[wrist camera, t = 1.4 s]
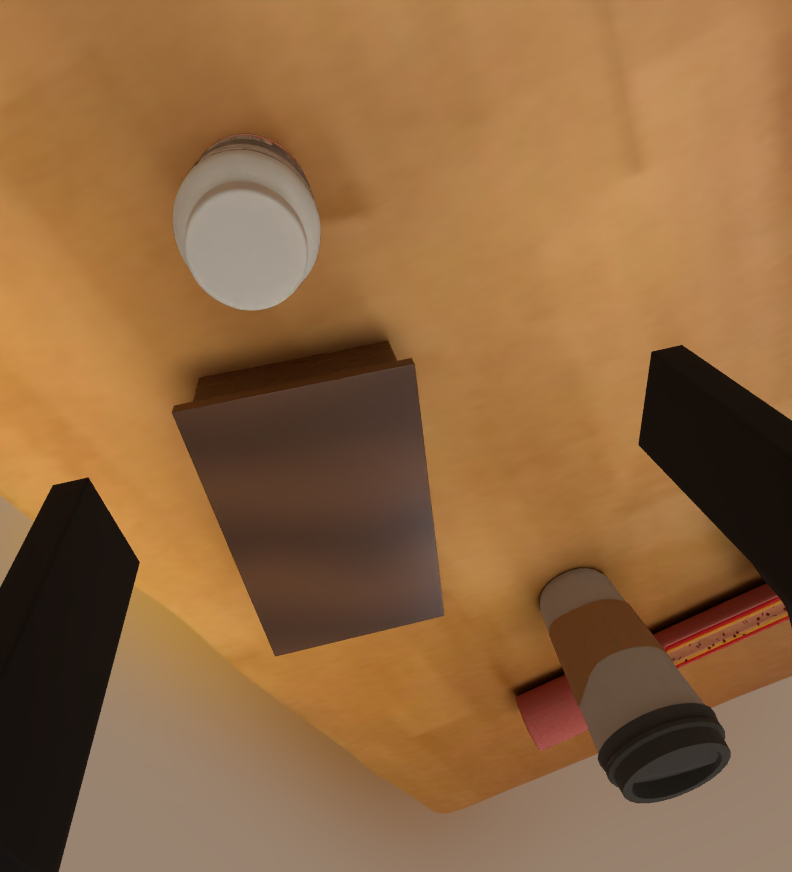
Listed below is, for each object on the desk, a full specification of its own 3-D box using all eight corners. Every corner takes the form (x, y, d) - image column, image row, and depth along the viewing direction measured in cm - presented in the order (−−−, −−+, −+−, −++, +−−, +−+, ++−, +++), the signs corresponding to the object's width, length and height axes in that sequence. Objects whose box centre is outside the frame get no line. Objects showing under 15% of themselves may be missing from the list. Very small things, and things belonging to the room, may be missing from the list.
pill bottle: (280, 274, 28) (284, 355, 20) (175, 218, 26) (133, 285, 18) (330, 174, 26) (357, 222, 18) (221, 105, 24) (197, 124, 16)
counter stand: (183, 370, 30) (171, 412, 27) (397, 328, 31) (414, 363, 28) (274, 604, 42) (275, 656, 38) (429, 568, 43) (444, 616, 39)
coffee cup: (606, 616, 51) (713, 792, 38) (519, 630, 49) (602, 817, 37) (628, 551, 46) (758, 727, 34) (533, 564, 45) (633, 752, 32)
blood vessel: (931, 496, 50) (990, 534, 46) (925, 529, 53) (981, 568, 48) (510, 688, 54) (529, 738, 50) (525, 709, 57) (545, 759, 53)
